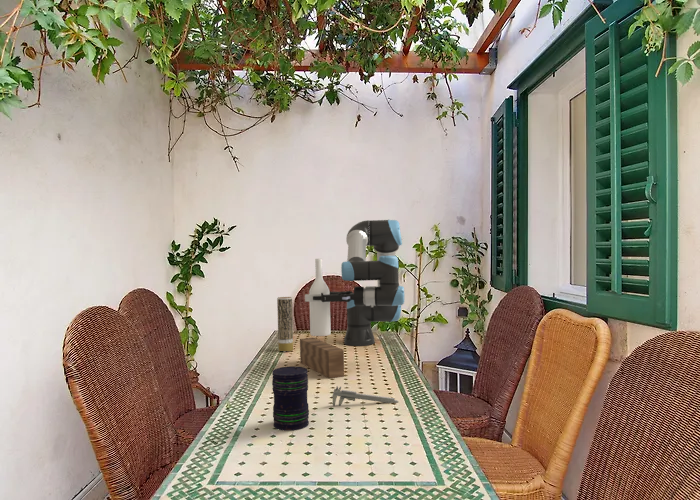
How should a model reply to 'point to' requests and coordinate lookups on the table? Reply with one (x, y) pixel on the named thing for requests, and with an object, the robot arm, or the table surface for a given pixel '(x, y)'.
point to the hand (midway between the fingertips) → (307, 296)
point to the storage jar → (290, 398)
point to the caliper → (358, 396)
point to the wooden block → (322, 357)
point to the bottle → (319, 305)
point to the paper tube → (285, 324)
